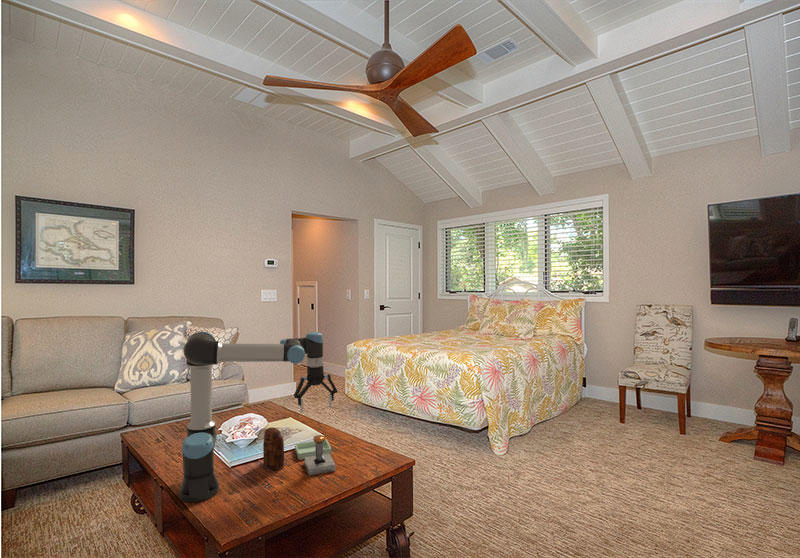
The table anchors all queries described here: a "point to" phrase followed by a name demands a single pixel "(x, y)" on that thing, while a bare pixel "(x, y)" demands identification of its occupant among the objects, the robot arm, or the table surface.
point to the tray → (310, 449)
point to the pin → (319, 448)
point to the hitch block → (321, 467)
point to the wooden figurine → (273, 449)
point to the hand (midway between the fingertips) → (316, 409)
